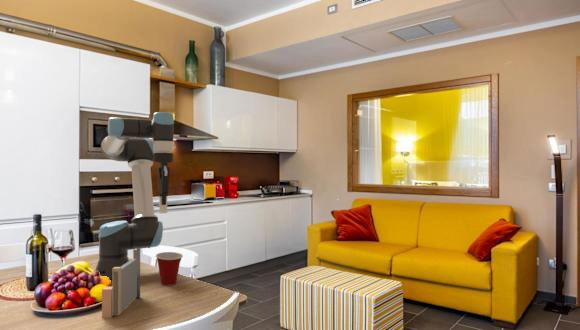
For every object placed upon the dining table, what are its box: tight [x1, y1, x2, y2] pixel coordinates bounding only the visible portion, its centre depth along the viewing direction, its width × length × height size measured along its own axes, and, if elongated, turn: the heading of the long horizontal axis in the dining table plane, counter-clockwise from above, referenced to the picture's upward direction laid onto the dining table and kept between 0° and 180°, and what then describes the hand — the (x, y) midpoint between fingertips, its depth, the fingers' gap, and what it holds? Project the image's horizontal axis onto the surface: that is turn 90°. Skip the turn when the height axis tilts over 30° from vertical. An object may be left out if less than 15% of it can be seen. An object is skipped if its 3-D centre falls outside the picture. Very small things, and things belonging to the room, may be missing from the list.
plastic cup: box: [155, 251, 184, 286], centre depth 165 cm, size 11×11×12 cm
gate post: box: [132, 249, 141, 300], centre depth 147 cm, size 2×2×18 cm
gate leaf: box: [111, 258, 137, 316], centre depth 137 cm, size 17×2×15 cm, turn 2°
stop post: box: [101, 286, 114, 318], centre depth 131 cm, size 3×3×9 cm
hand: (163, 213), depth 155 cm, fingers closed
